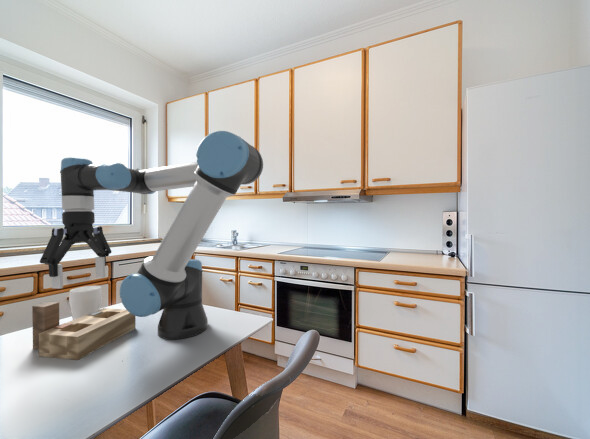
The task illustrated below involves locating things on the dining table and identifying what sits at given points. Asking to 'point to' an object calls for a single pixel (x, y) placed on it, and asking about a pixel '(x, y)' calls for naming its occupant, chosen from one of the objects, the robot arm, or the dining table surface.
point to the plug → (44, 319)
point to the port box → (85, 334)
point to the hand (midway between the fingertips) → (80, 282)
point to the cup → (84, 300)
